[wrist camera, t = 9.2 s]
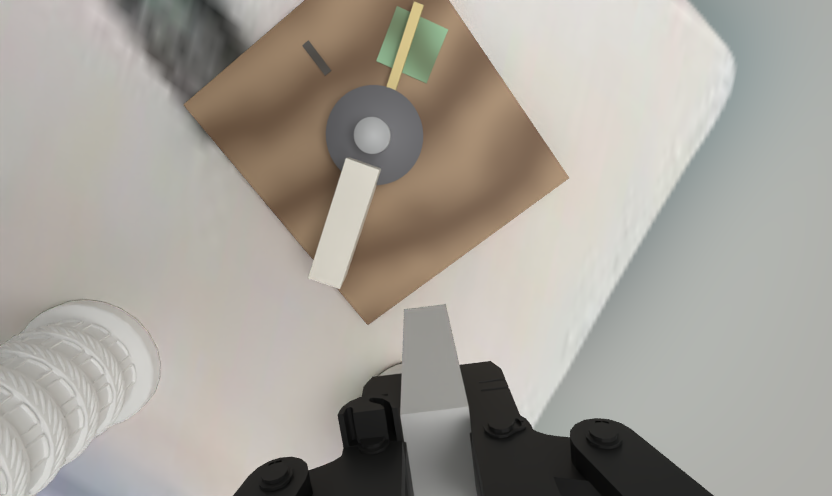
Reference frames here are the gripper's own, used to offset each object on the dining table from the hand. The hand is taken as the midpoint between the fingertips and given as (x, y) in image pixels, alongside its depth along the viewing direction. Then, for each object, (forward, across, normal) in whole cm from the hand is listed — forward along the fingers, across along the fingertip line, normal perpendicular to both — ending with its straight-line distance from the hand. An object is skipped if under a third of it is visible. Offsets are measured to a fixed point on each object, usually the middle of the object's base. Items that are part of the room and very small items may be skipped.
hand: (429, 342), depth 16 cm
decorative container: (+23, -30, -8) cm, 38 cm away
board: (+22, -2, +8) cm, 24 cm away
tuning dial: (+20, -2, +8) cm, 22 cm away
